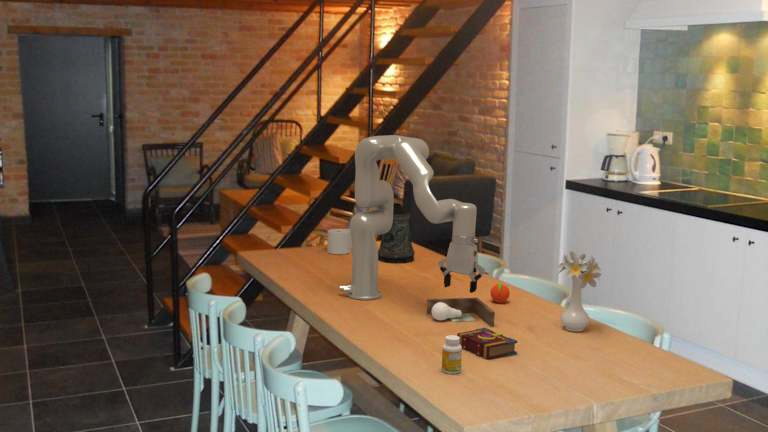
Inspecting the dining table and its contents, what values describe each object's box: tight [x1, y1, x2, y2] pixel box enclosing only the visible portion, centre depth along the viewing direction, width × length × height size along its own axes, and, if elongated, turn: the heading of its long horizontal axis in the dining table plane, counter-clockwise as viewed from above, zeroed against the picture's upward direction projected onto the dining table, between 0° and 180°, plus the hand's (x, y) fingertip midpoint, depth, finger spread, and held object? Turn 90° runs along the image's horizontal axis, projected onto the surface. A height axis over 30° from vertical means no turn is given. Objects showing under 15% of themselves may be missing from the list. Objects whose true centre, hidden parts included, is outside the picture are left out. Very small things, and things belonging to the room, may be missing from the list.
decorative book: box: [456, 327, 518, 360], centre depth 253 cm, size 11×16×5 cm
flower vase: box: [556, 250, 602, 333], centre depth 273 cm, size 13×18×25 cm
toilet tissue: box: [326, 228, 352, 255], centre depth 387 cm, size 11×12×10 cm
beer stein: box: [376, 202, 415, 265], centre depth 372 cm, size 16×19×25 cm
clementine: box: [490, 282, 510, 304], centre depth 306 cm, size 8×7×7 cm
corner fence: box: [426, 297, 496, 328], centre depth 283 cm, size 18×18×5 cm
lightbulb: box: [431, 302, 463, 322], centre depth 283 cm, size 6×6×11 cm
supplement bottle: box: [441, 334, 463, 375], centre depth 234 cm, size 5×5×10 cm
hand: (459, 289), depth 284 cm, fingers open, 9 cm apart
